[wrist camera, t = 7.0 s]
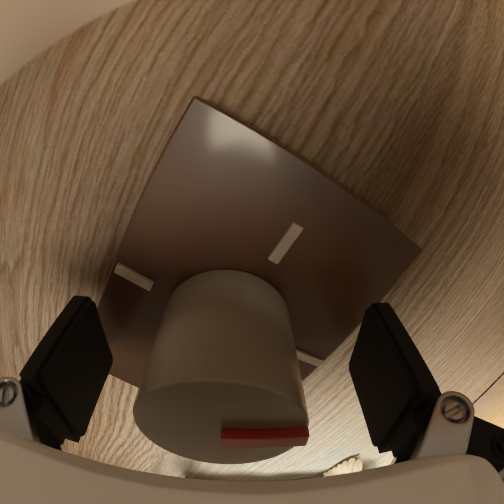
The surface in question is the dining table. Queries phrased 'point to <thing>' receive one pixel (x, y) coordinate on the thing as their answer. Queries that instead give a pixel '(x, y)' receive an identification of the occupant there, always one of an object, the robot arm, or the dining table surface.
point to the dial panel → (248, 239)
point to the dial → (223, 373)
